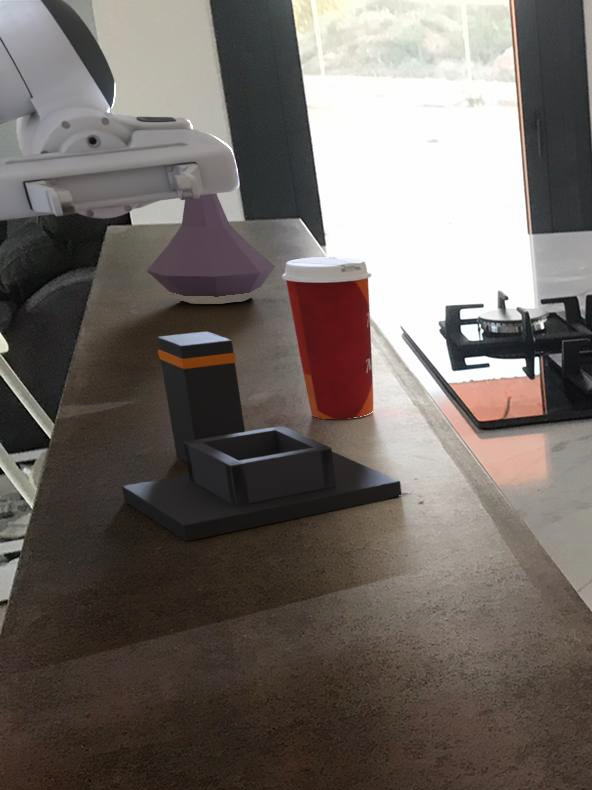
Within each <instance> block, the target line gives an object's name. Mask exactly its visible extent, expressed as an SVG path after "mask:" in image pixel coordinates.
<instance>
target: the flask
mask: <svg viewBox="0 0 592 790" xmlns="http://www.w3.org/2000/svg"><path fill="white" fill-rule="evenodd" d="M275 267H276V265H274V264H273V263H272V262H271V261H270V260H269V259H267V257H265V256H264V255H263V254H262V253H260V252H259V251H258V250H257V249H256V248H255V247H254V246H252V244H250V243H249V242H248V241H247V240H246V239H245V238H244V237H243V236H242V235H241V234H240V233H239V232H238V231H237V230H236V229H235V228H234V227H233V226H232V225H231V224H230V222H229V220H228V218H227V215H226V212H225V210H224V208H223V206H222V204H221V201H220V199H219V196H218V193H215V194H208V195H200V198H196V199H188V200H184V205H183V211H182V221H181V225H180V227H179V228H178V230H177V231H176V233H175V234H174V235H173V237H172V239H171V240H170V241H169V243H168V244H167V246H166V247H165V248H164V249H163V250H162V251H161V253H160V254H158V256H157V258H156V259H155V260H154V261H153V262H152V263H151V265H150V266H149V267H148V268H147V269H146V272H147V273H148V274H149V275H150V276H152V277H153V278H154V279H155V281H157V282H158V283H159V284H160V285H161V286H162V287H164V288H165V290H167V291H168V293H170V292H172V293H176V294H180V295H183V296H214V297H219V296H226V295H235V294H244V293H250V292H252V291H254V290H255V289H257V288H259V287H260V288H261V287H262V286H263V285H264V283H265V282H266V280H267V279H268V277H269V276H270V274H272V272H273V270H274V269H275Z"/></svg>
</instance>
